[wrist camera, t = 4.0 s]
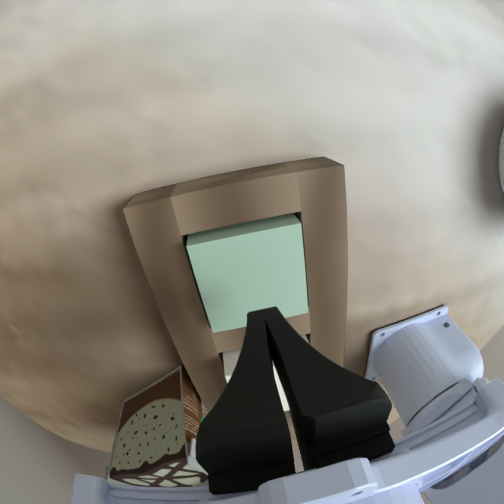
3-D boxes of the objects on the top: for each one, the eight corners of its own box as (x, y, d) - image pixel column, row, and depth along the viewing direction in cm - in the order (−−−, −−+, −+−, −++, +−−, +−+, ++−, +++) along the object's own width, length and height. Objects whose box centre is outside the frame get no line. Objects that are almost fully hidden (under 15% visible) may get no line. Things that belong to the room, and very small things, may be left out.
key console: (324, 156, 18) (343, 165, 15) (330, 368, 27) (340, 391, 24) (135, 194, 17) (122, 209, 14) (210, 394, 26) (212, 419, 24)
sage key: (289, 208, 17) (301, 223, 15) (298, 290, 20) (308, 312, 18) (189, 228, 17) (186, 246, 15) (212, 308, 20) (213, 332, 18)
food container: (159, 428, 28) (156, 502, 20) (115, 404, 26) (103, 485, 17) (239, 387, 26) (253, 480, 17) (192, 357, 24) (193, 463, 15)
